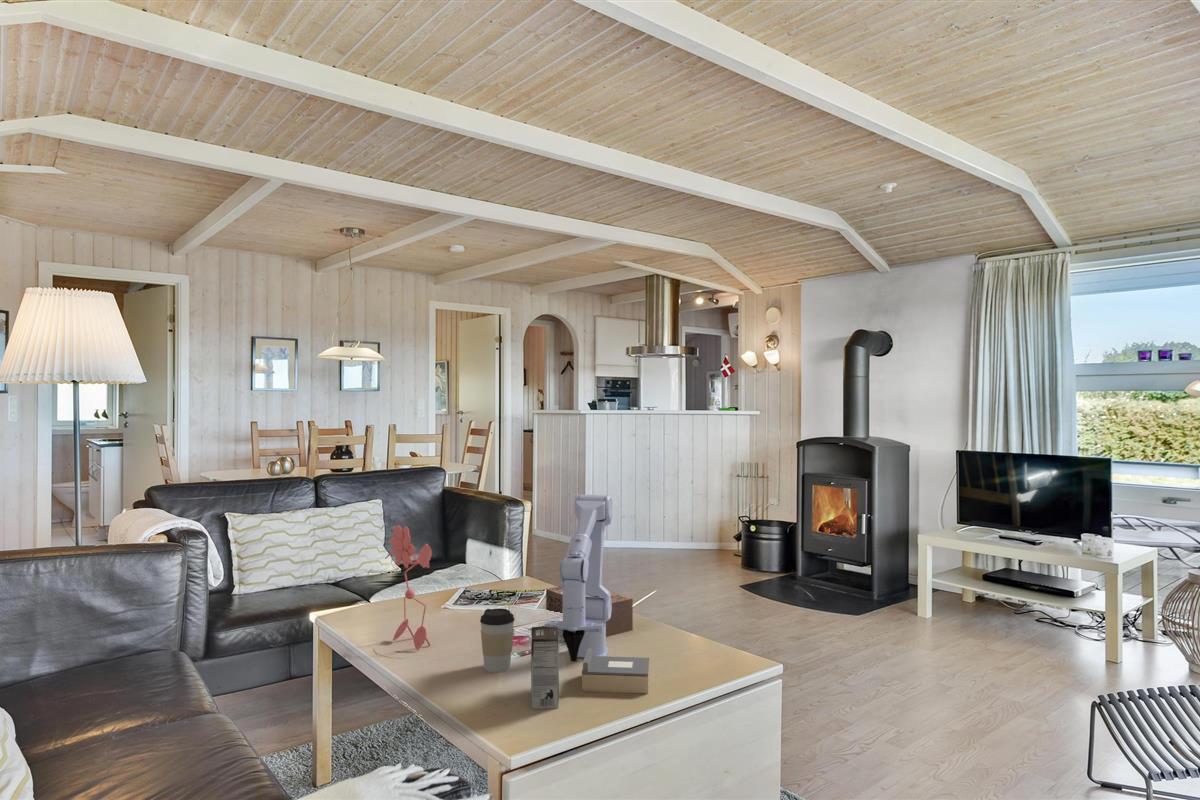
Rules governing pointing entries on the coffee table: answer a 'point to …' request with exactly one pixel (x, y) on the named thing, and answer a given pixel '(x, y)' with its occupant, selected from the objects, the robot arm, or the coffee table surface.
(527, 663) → the coffee table surface
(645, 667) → the lid
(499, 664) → the coffee cup
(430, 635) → the coffee table surface
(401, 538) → the figurine
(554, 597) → the tissue box cover
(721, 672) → the coffee table surface
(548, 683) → the coffee box
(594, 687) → the mailer box
